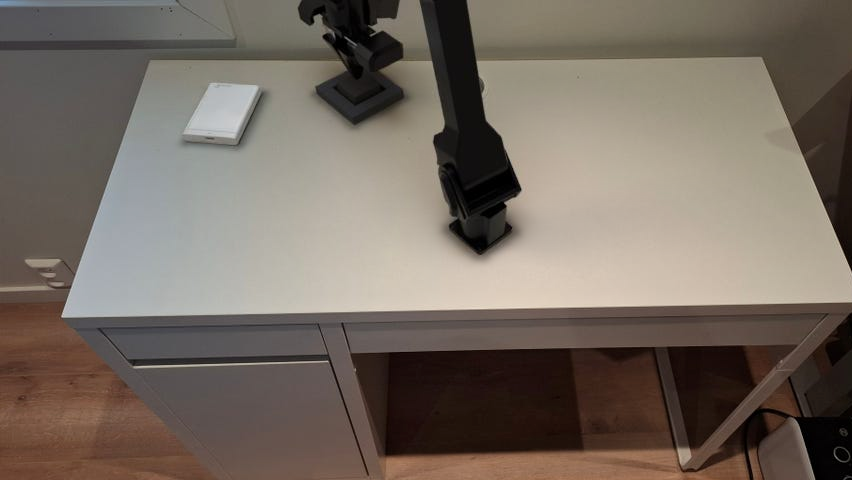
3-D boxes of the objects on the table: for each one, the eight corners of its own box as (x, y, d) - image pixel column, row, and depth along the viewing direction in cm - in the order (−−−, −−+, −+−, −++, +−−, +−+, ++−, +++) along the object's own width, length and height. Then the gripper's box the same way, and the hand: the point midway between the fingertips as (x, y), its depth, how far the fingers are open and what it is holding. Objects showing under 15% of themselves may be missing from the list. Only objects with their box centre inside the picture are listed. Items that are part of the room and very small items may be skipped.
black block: (381, 96, 99) (379, 84, 97) (357, 110, 97) (354, 97, 95) (363, 82, 101) (361, 69, 99) (338, 95, 99) (336, 82, 97)
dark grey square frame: (404, 97, 99) (403, 89, 98) (354, 125, 95) (352, 117, 93) (366, 68, 103) (365, 61, 102) (316, 94, 99) (314, 86, 98)
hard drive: (210, 81, 97) (181, 133, 90) (259, 85, 97) (234, 137, 90) (213, 90, 99) (185, 141, 92) (262, 93, 99) (238, 145, 91)
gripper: (429, -10, 83) (434, 84, 95) (348, -61, 90) (362, 32, 103) (364, 20, 78) (378, 115, 91) (285, -36, 86) (308, 59, 98)
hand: (357, 77), depth 96 cm, fingers closed
